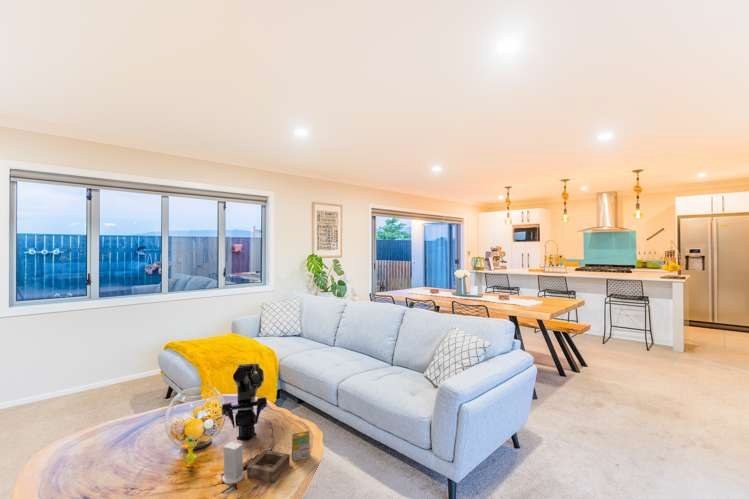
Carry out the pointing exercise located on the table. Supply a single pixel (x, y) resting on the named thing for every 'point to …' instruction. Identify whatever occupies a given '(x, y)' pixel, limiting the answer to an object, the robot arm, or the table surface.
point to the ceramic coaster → (231, 481)
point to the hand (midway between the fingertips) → (245, 425)
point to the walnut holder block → (265, 473)
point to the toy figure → (189, 451)
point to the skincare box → (233, 460)
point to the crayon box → (300, 446)
